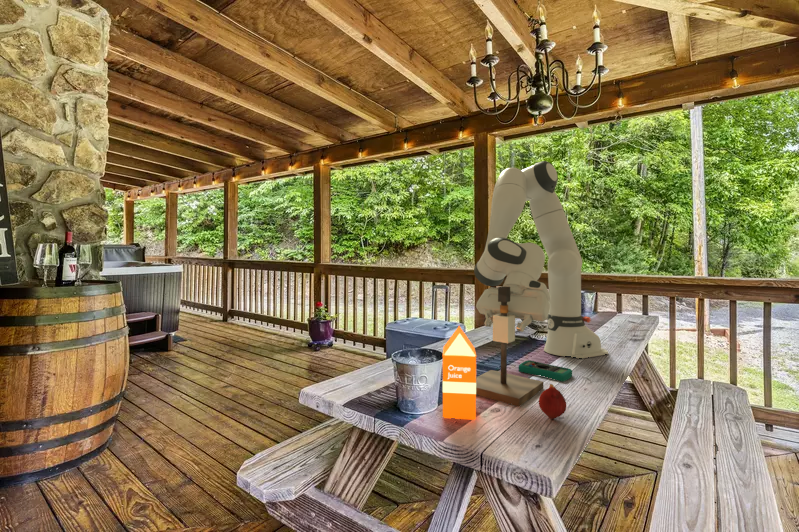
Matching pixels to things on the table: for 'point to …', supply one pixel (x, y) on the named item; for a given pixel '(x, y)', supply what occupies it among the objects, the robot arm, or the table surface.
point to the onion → (552, 402)
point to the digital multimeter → (546, 370)
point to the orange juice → (459, 377)
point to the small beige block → (504, 328)
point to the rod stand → (502, 383)
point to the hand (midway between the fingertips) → (502, 327)
